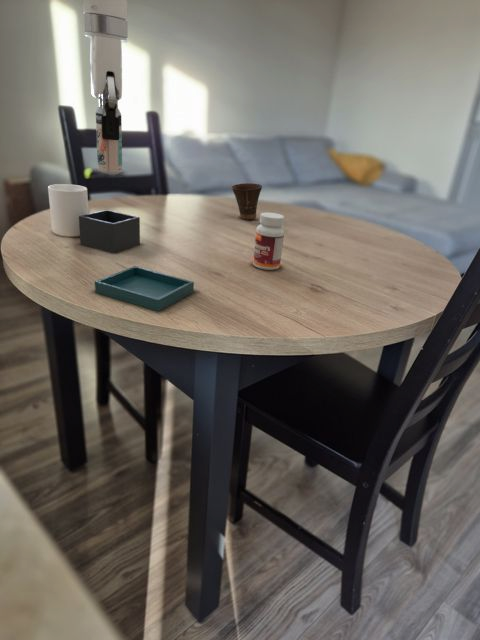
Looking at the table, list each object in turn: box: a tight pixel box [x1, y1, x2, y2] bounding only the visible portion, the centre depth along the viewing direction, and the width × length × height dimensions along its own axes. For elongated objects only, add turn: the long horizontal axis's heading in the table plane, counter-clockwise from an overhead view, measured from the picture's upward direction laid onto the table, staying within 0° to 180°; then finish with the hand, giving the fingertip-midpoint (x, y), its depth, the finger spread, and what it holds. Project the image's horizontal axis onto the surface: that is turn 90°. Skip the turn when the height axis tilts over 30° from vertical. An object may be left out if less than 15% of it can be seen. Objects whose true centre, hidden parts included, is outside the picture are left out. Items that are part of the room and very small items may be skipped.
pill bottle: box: [252, 212, 285, 271], centre depth 105 cm, size 6×6×11 cm
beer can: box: [95, 106, 123, 175], centre depth 96 cm, size 5×5×12 cm
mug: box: [47, 183, 90, 238], centre depth 113 cm, size 12×8×10 cm
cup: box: [231, 182, 263, 221], centre depth 144 cm, size 9×9×10 cm
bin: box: [79, 209, 141, 254], centre depth 108 cm, size 9×9×6 cm
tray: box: [94, 265, 195, 312], centre depth 86 cm, size 13×11×2 cm
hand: (109, 136), depth 96 cm, fingers closed on beer can, 4 cm apart
